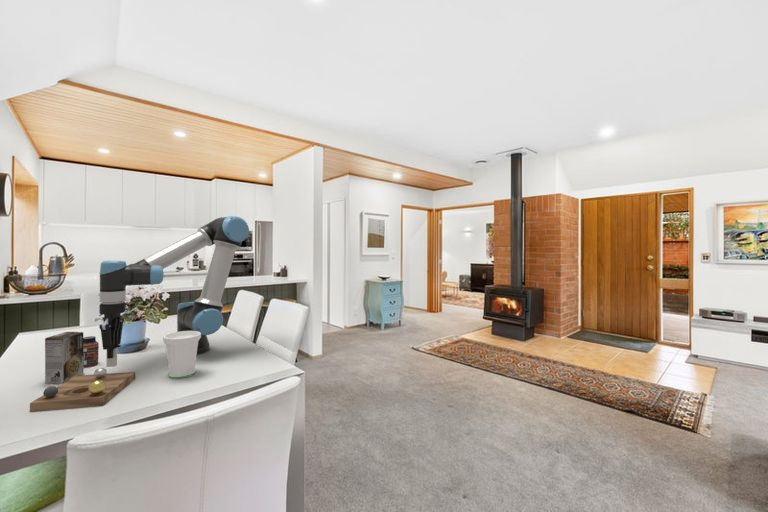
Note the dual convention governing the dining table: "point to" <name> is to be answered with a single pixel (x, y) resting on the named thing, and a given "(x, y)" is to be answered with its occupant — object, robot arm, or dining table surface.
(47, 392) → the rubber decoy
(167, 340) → the cup
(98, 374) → the steel ball
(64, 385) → the wooden board
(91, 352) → the supplement bottle
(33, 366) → the dining table surface
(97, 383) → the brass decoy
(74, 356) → the coffee box
